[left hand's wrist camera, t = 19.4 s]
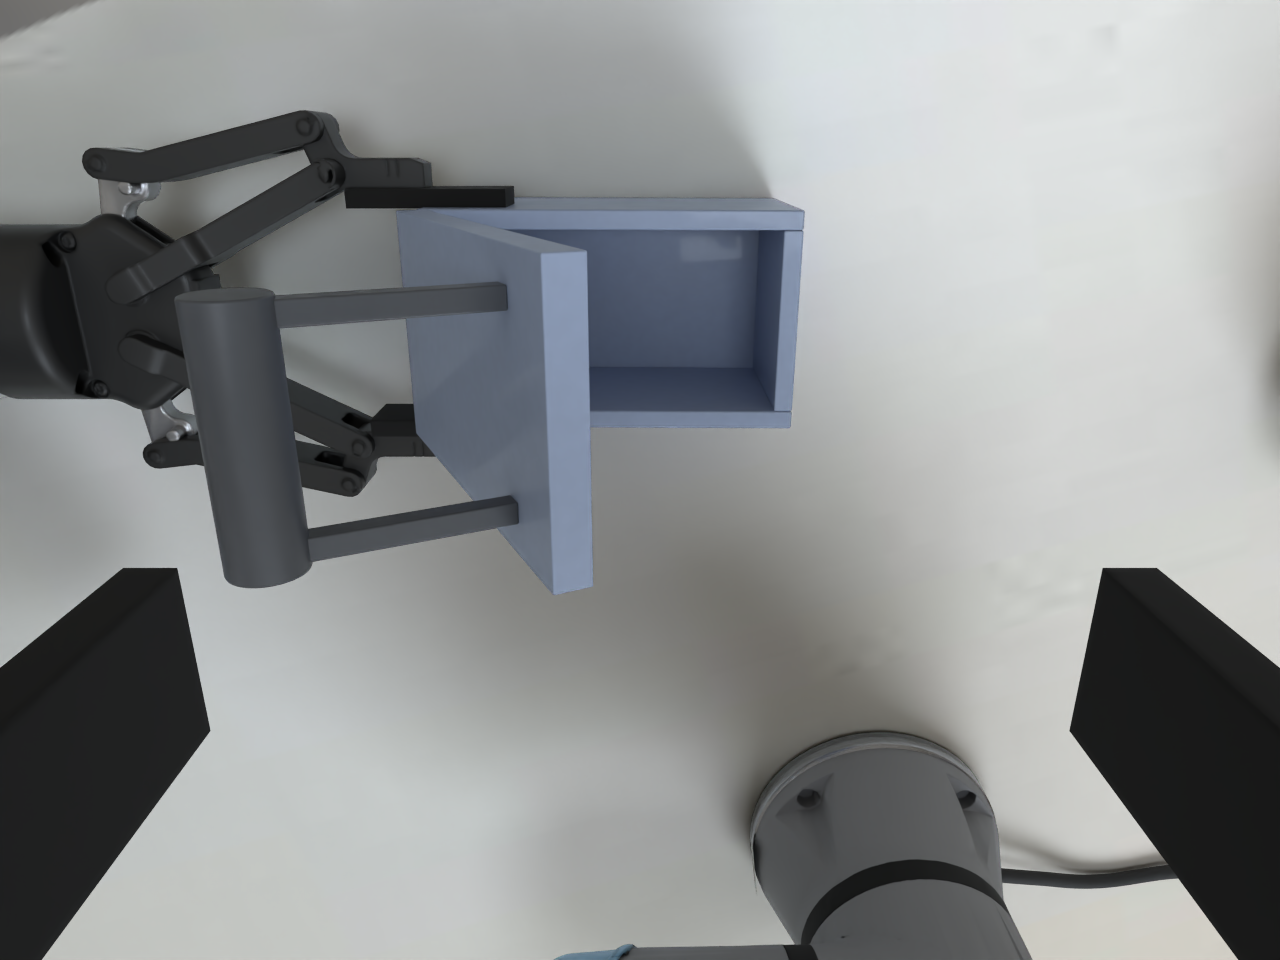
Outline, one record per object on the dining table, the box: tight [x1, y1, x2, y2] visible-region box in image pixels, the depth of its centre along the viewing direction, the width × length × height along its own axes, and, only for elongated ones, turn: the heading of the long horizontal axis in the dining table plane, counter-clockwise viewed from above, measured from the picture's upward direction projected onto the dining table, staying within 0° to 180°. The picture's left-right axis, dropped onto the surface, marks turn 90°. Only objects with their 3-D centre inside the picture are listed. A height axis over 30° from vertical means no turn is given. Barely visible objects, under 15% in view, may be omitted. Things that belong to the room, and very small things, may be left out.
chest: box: [417, 197, 805, 428], centre depth 41 cm, size 16×9×9 cm, turn 90°
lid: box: [174, 210, 593, 595], centre depth 28 cm, size 16×9×9 cm
